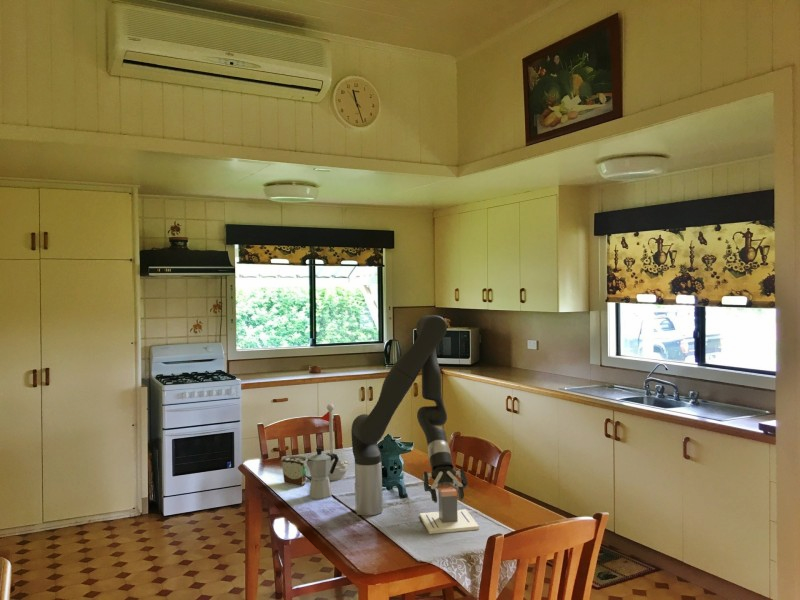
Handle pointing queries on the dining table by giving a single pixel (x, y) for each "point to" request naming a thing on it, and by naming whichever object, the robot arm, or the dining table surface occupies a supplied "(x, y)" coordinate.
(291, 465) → the food container
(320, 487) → the coffee maker
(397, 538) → the dining table surface
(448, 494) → the grey pink block
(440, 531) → the notepad
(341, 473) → the flag stand
